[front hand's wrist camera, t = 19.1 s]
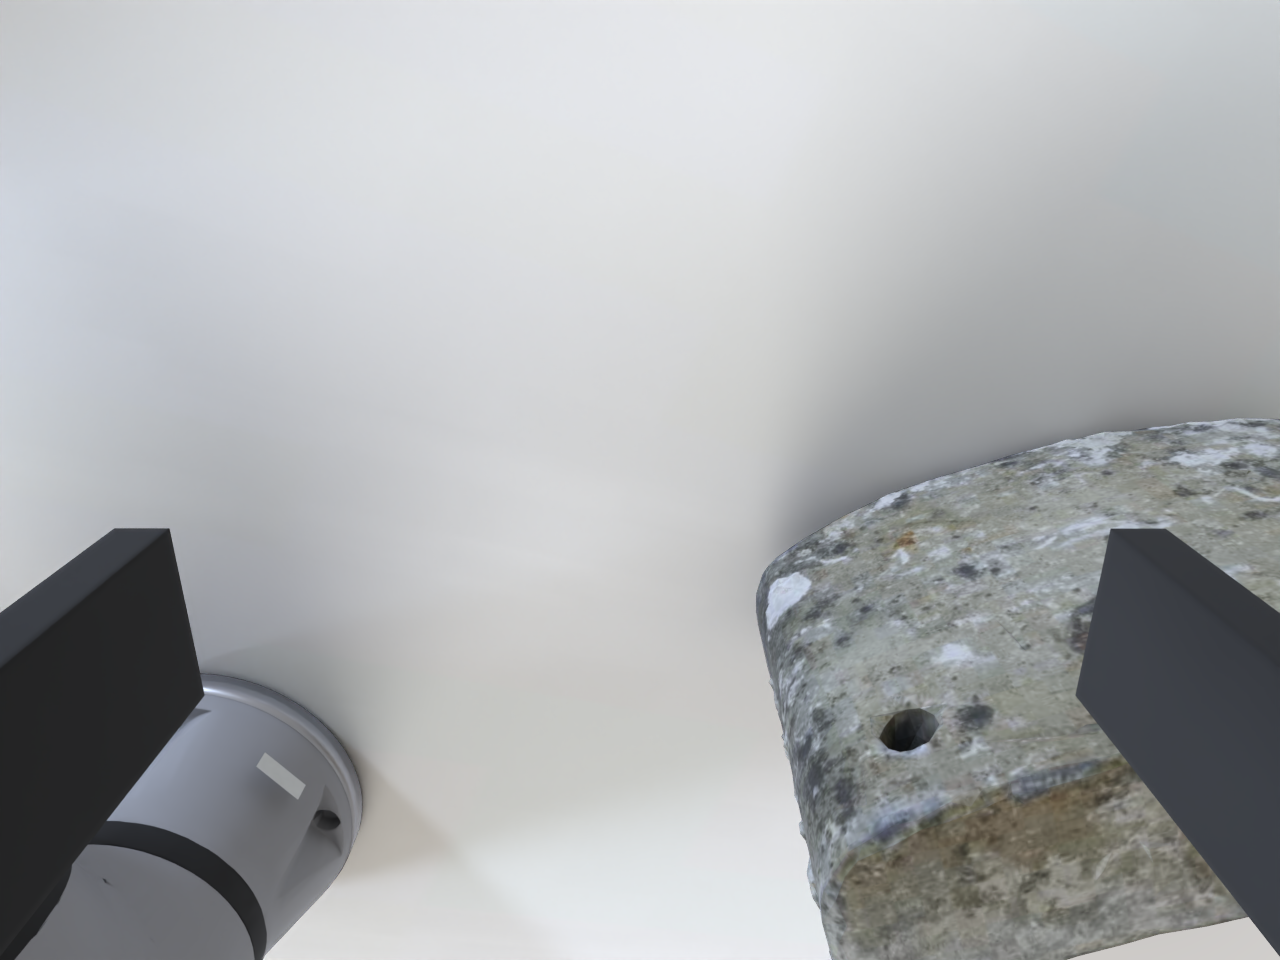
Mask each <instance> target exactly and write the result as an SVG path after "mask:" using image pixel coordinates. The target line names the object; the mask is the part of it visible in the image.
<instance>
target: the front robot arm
mask: <svg viewBox="0 0 1280 960" xmlns="http://www.w3.org/2000/svg"><path fill="white" fill-rule="evenodd" d="M1075 696H1076V697H1077V698H1078V699H1079V701H1080V702H1081V703H1082V705H1083V706H1084V707H1085V708H1086V710H1087V711H1088V712H1089V714H1090V715H1091V716H1092V717H1093V719H1094V720H1095V721H1096V722H1097V724H1098V725H1099V726H1100V728H1101V729H1102V730H1103V731H1104V733H1105V734H1106V735H1107V737H1108V738H1109V739H1110V740H1111V742H1112V743H1113V744H1114V745H1115V747H1116V748H1117V749H1118V751H1119V752H1120V753H1121V754H1122V756H1123V757H1124V758H1125V759H1126V761H1127V762H1128V763H1129V765H1130V766H1131V767H1132V768H1133V770H1134V771H1135V772H1136V774H1137V775H1138V776H1139V777H1140V779H1141V780H1142V781H1143V782H1144V784H1145V785H1146V786H1147V788H1148V789H1149V790H1150V791H1151V793H1152V794H1153V795H1154V796H1155V798H1156V799H1157V800H1158V802H1159V803H1160V804H1161V805H1162V807H1163V808H1164V809H1165V811H1166V812H1167V813H1168V814H1169V816H1170V817H1171V818H1172V819H1173V821H1174V822H1175V823H1176V825H1177V826H1178V827H1179V828H1180V830H1181V831H1182V832H1183V834H1184V835H1185V836H1186V837H1187V839H1188V840H1189V841H1190V842H1191V844H1192V845H1193V846H1194V848H1195V849H1196V850H1197V851H1198V853H1199V854H1200V855H1201V856H1202V858H1203V859H1204V860H1205V862H1206V863H1207V864H1208V865H1209V867H1210V868H1211V869H1212V871H1213V872H1214V873H1215V874H1216V876H1217V877H1218V878H1219V879H1220V881H1221V882H1222V883H1223V885H1224V886H1225V887H1226V888H1227V890H1228V891H1229V892H1230V893H1231V895H1232V896H1233V897H1234V899H1235V900H1236V901H1237V902H1238V904H1239V905H1240V906H1241V908H1242V909H1243V910H1244V911H1245V913H1246V914H1247V915H1248V916H1249V918H1250V919H1251V920H1252V922H1253V923H1254V924H1255V925H1256V927H1257V928H1258V929H1259V931H1260V932H1261V933H1262V934H1263V935H1264V937H1265V938H1266V939H1267V941H1268V942H1269V943H1270V945H1271V946H1272V947H1273V948H1274V950H1275V951H1276V952H1277V953H1278V955H1279V956H1280V613H1279V612H1278V611H1276V610H1275V609H1274V608H1272V607H1271V606H1270V605H1268V604H1267V603H1266V602H1264V601H1263V600H1262V599H1260V598H1259V597H1258V596H1256V595H1255V594H1253V593H1252V592H1251V591H1249V590H1248V589H1247V588H1245V587H1244V586H1243V585H1241V584H1240V583H1239V582H1237V581H1236V580H1235V579H1233V578H1232V577H1230V576H1229V575H1228V574H1226V573H1225V572H1224V571H1222V570H1221V569H1220V568H1218V567H1217V566H1216V565H1214V564H1213V563H1212V562H1210V561H1209V560H1207V559H1206V558H1205V557H1203V556H1202V555H1201V554H1199V553H1198V552H1197V551H1195V550H1194V549H1193V548H1191V547H1190V546H1189V545H1187V544H1186V543H1184V542H1183V541H1182V540H1180V539H1179V538H1178V537H1176V536H1175V535H1174V534H1172V533H1171V532H1170V531H1168V530H1167V529H1110V534H1109V539H1108V543H1107V548H1106V553H1105V558H1104V562H1103V567H1102V572H1101V576H1100V581H1099V586H1098V591H1097V595H1096V600H1095V605H1094V609H1093V614H1092V619H1091V624H1090V628H1089V633H1088V638H1087V643H1086V647H1085V652H1084V657H1083V661H1082V666H1081V671H1080V676H1079V680H1078V685H1077V690H1076V695H1075ZM361 817H362V795H361V788H360V784H359V780H358V777H357V774H356V771H355V769H354V766H353V764H352V762H351V760H350V758H349V757H348V755H347V753H346V751H345V750H344V748H343V747H342V745H341V744H340V743H339V741H338V740H337V739H336V738H335V736H334V735H333V734H332V733H331V732H330V731H329V730H328V729H327V728H326V727H325V726H324V724H323V723H321V722H320V721H319V720H318V719H317V718H316V717H315V716H313V715H312V714H311V713H310V712H308V711H307V710H305V709H304V708H303V707H301V706H300V705H298V704H297V703H295V702H293V701H292V700H290V699H289V698H287V697H285V696H283V695H281V694H279V693H277V692H275V691H273V690H270V689H268V688H265V687H263V686H261V685H258V684H255V683H251V682H248V681H245V680H241V679H237V678H233V677H227V676H221V675H212V674H200V671H199V666H198V661H197V657H196V652H195V647H194V643H193V638H192V633H191V628H190V624H189V619H188V614H187V609H186V605H185V600H184V595H183V591H182V586H181V581H180V576H179V572H178V567H177V562H176V558H175V553H174V548H173V543H172V539H171V534H170V529H113V530H112V531H110V532H109V533H108V534H106V535H105V536H104V537H102V538H101V539H100V540H98V541H97V542H96V543H94V544H93V545H91V546H90V547H89V548H87V549H86V550H85V551H83V552H82V553H81V554H79V555H78V556H77V557H75V558H74V559H73V560H71V561H70V562H68V563H67V564H66V565H64V566H63V567H62V568H60V569H59V570H58V571H56V572H55V573H54V574H52V575H51V576H50V577H48V578H47V579H45V580H44V581H43V582H41V583H40V584H39V585H37V586H36V587H35V588H33V589H32V590H31V591H29V592H28V593H27V594H25V595H24V596H22V597H21V598H20V599H18V600H17V601H16V602H14V603H13V604H12V605H10V606H9V607H8V608H6V609H5V610H4V611H2V612H1V613H0V960H263V958H264V956H265V954H266V953H267V952H268V951H269V950H270V949H271V948H272V947H273V946H274V945H275V944H276V943H277V942H278V941H279V940H280V939H281V938H282V937H283V935H284V934H285V933H286V932H287V931H288V930H289V929H290V928H291V927H292V926H293V925H294V924H295V923H296V922H297V921H298V920H299V919H300V917H301V916H302V915H303V914H304V913H305V912H306V911H307V910H308V909H309V908H310V907H311V906H312V905H313V904H314V903H315V902H316V901H317V899H318V898H319V897H320V896H321V895H322V894H323V893H324V892H325V891H326V890H327V889H328V888H329V886H330V885H331V884H332V882H333V881H334V880H335V878H336V877H337V876H338V874H339V873H340V871H341V870H342V868H343V866H344V864H345V862H346V861H347V858H348V856H349V853H350V851H351V849H352V846H353V844H354V841H355V839H356V836H357V833H358V831H359V827H360V823H361Z"/></svg>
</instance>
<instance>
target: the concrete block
mask: <svg viewBox="0 0 1280 960" xmlns="http://www.w3.org/2000/svg"><path fill="white" fill-rule="evenodd" d="M1110 529H1167V530H1168V531H1170V532H1171V533H1172V534H1174V535H1175V536H1176V537H1178V538H1179V539H1180V540H1182V541H1183V542H1184V543H1186V544H1187V545H1189V546H1190V547H1191V548H1193V549H1194V550H1195V551H1197V552H1198V553H1199V554H1201V555H1202V556H1203V557H1205V558H1206V559H1207V560H1209V561H1210V562H1212V563H1213V564H1214V565H1216V566H1217V567H1218V568H1220V569H1221V570H1222V571H1224V572H1225V573H1226V574H1228V575H1229V576H1230V577H1232V578H1233V579H1235V580H1236V581H1237V582H1239V583H1240V584H1241V585H1243V586H1244V587H1245V588H1247V589H1248V590H1249V591H1251V592H1252V593H1253V594H1255V595H1256V596H1258V597H1259V598H1260V599H1262V600H1263V601H1264V602H1266V603H1267V604H1268V605H1270V606H1271V607H1272V608H1274V609H1275V610H1276V611H1278V612H1279V613H1280V420H1279V419H1258V418H1257V419H1246V418H1237V419H1228V420H1220V421H1212V422H1186V423H1182V424H1177V425H1172V426H1162V427H1152V428H1146V429H1140V430H1134V431H1111V432H1102V433H1098V434H1094V435H1090V436H1086V437H1083V438H1079V439H1075V440H1072V439H1067V440H1064V441H1060V442H1057V443H1054V444H1051V445H1048V446H1044V447H1041V448H1037V449H1033V450H1030V451H1026V452H1022V453H1018V454H1014V455H1011V456H1007V457H1004V458H1001V459H998V460H995V461H992V462H989V463H986V464H983V465H979V466H976V467H973V468H969V469H966V470H962V471H959V472H955V473H952V474H948V475H945V476H941V477H938V478H935V479H932V480H929V481H926V482H923V483H920V484H917V485H914V486H911V487H908V488H905V489H902V490H899V491H896V492H893V493H890V494H887V495H885V496H884V497H882V498H880V499H878V500H876V501H874V502H872V503H870V504H868V505H866V506H864V507H862V508H860V509H858V510H855V511H853V512H851V513H849V514H847V515H845V516H843V517H841V518H839V519H837V520H836V521H834V522H832V523H831V524H829V525H827V526H825V527H824V528H822V529H820V530H819V531H817V532H815V533H813V534H812V535H810V536H808V537H806V538H805V539H803V540H801V541H800V542H799V543H797V544H796V545H794V546H793V547H791V548H790V549H788V550H787V551H786V552H784V553H783V554H781V555H780V556H778V557H777V558H776V559H775V560H774V561H773V562H772V563H771V564H770V565H769V566H768V567H767V569H766V570H765V572H764V573H763V575H762V578H761V581H760V584H759V587H758V590H757V595H756V613H757V620H758V626H759V630H760V635H761V639H762V643H763V648H764V653H765V657H766V662H767V667H768V670H769V673H770V678H771V679H770V681H769V683H770V685H771V686H772V688H773V690H774V700H775V705H776V709H777V710H778V715H779V718H780V721H781V724H782V729H783V735H782V738H783V740H784V748H785V753H786V756H787V758H788V759H789V761H790V765H791V769H792V774H793V781H794V789H795V798H796V800H797V802H798V804H799V808H800V813H801V818H802V821H801V822H800V823H799V827H800V834H801V835H802V836H803V838H804V839H805V840H806V843H807V846H808V850H809V855H810V858H809V864H808V869H807V876H808V881H809V885H810V889H811V893H812V896H813V899H814V901H815V902H816V904H817V905H818V907H819V909H820V912H821V918H822V924H823V927H824V931H825V934H826V938H827V942H828V945H829V949H830V951H829V953H830V955H831V958H832V960H1067V959H1070V958H1074V957H1077V956H1080V955H1084V954H1088V953H1092V952H1096V951H1100V950H1104V949H1108V948H1112V947H1115V946H1120V945H1123V944H1127V943H1130V942H1134V941H1137V940H1140V939H1144V938H1147V937H1151V936H1154V935H1158V934H1164V933H1169V932H1176V931H1182V930H1187V929H1194V928H1200V927H1206V926H1210V925H1215V924H1219V923H1224V922H1228V921H1232V920H1237V919H1241V918H1245V917H1249V916H1248V915H1247V914H1246V913H1245V911H1244V910H1243V909H1242V908H1241V906H1240V905H1239V904H1238V902H1237V901H1236V900H1235V899H1234V897H1233V896H1232V895H1231V893H1230V892H1229V891H1228V890H1227V888H1226V887H1225V886H1224V885H1223V883H1222V882H1221V881H1220V879H1219V878H1218V877H1217V876H1216V874H1215V873H1214V872H1213V871H1212V869H1211V868H1210V867H1209V865H1208V864H1207V863H1206V862H1205V860H1204V859H1203V858H1202V856H1201V855H1200V854H1199V853H1198V851H1197V850H1196V849H1195V848H1194V846H1193V845H1192V844H1191V842H1190V841H1189V840H1188V839H1187V837H1186V836H1185V835H1184V834H1183V832H1182V831H1181V830H1180V828H1179V827H1178V826H1177V825H1176V823H1175V822H1174V821H1173V819H1172V818H1171V817H1170V816H1169V814H1168V813H1167V812H1166V811H1165V809H1164V808H1163V807H1162V805H1161V804H1160V803H1159V802H1158V800H1157V799H1156V798H1155V796H1154V795H1153V794H1152V793H1151V791H1150V790H1149V789H1148V788H1147V786H1146V785H1145V784H1144V782H1143V781H1142V780H1141V779H1140V777H1139V776H1138V775H1137V774H1136V772H1135V771H1134V770H1133V768H1132V767H1131V766H1130V765H1129V763H1128V762H1127V761H1126V759H1125V758H1124V757H1123V756H1122V754H1121V753H1120V752H1119V751H1118V749H1117V748H1116V747H1115V745H1114V744H1113V743H1112V742H1111V740H1110V739H1109V738H1108V737H1107V735H1106V734H1105V733H1104V731H1103V730H1102V729H1101V728H1100V726H1099V725H1098V724H1097V722H1096V721H1095V720H1094V719H1093V717H1092V716H1091V715H1090V714H1089V712H1088V711H1087V710H1086V708H1085V707H1084V706H1083V705H1082V703H1081V702H1080V701H1079V699H1078V698H1077V697H1076V696H1075V695H1076V690H1077V685H1078V680H1079V676H1080V671H1081V666H1082V661H1083V657H1084V652H1085V647H1086V643H1087V638H1088V633H1089V628H1090V624H1091V619H1092V614H1093V609H1094V605H1095V600H1096V595H1097V591H1098V586H1099V581H1100V576H1101V572H1102V567H1103V562H1104V558H1105V553H1106V548H1107V543H1108V539H1109V534H1110Z"/></svg>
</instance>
